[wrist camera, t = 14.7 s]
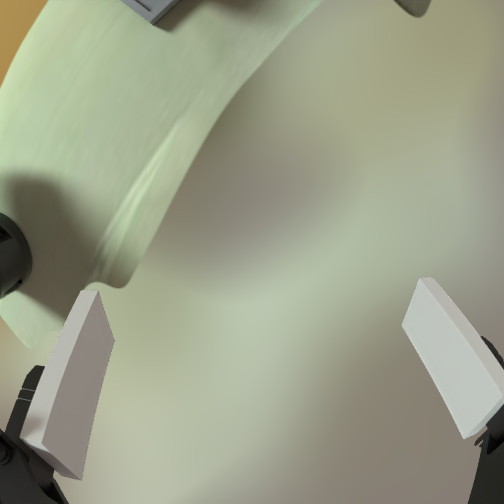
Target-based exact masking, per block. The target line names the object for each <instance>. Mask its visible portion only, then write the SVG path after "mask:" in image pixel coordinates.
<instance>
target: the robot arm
mask: <svg viewBox="0 0 504 504" xmlns="http://www.w3.org/2000/svg"><path fill="white" fill-rule="evenodd" d="M31 267H32V259H31V253H30V249H29V246H28V243H27V241H26V239H25V237H24V235H23V234H22V232H21V231H20V229H19V228H18V227H17V226H16V224H15V223H14V222H13V221H11V220H10V219H9V218H8V217H6V216H5V215H3V214H1V213H0V299H2V298H4V297H5V296H7V295H9V294H11V293H12V292H14V291H16V290H17V289H19V288H20V287H21V286H22V285H23V284H24V282H25V281H26V280H27V278H28V277H29V275H30V272H31ZM402 327H403V329H404V330H405V332H406V334H407V335H408V337H409V339H410V340H411V342H412V344H413V345H414V347H415V349H416V351H417V352H418V354H419V356H420V358H421V359H422V361H423V363H424V365H425V366H426V368H427V370H428V372H429V374H430V375H431V377H432V379H433V381H434V382H435V384H436V386H437V388H438V390H439V392H440V394H441V396H442V398H443V399H444V401H445V403H446V405H447V407H448V409H449V411H450V413H451V415H452V417H453V419H454V421H455V423H456V425H457V427H458V429H459V431H460V433H461V435H462V437H463V439H466V438H468V437H470V436H472V435H474V434H476V433H478V432H479V431H480V429H482V428H483V427H484V425H485V424H486V426H487V428H488V429H487V430H486V431H485V432H484V433H483V434H482V435H481V436H480V437H479V438H478V439H477V440H476V442H475V444H474V445H475V446H476V445H477V444H479V443H480V442H481V441H482V440H483V442H482V443H481V444H480V446H479V447H481V448H482V449H481V454H480V458H479V463H478V468H477V472H476V476H475V480H474V483H473V487H472V491H471V494H470V498H469V501H468V504H504V362H503V358H502V357H501V356H500V355H499V354H498V351H497V350H496V349H495V348H494V346H493V345H492V343H490V342H489V341H488V340H487V339H486V338H484V337H483V336H481V337H480V336H479V335H478V333H477V332H476V331H475V329H474V328H473V327H472V325H471V324H470V323H469V322H468V320H467V319H466V317H464V315H463V314H462V312H461V311H460V310H459V309H458V307H457V306H456V305H455V304H454V302H453V301H452V300H451V299H450V297H449V296H448V295H447V294H446V293H445V292H444V290H443V289H442V288H441V287H440V286H439V284H438V283H437V282H436V281H435V280H434V279H433V277H425V278H419V280H418V283H417V285H416V288H415V291H414V294H413V297H412V300H411V303H410V305H409V308H408V310H407V313H406V316H405V318H404V321H403V323H402ZM114 341H115V340H114V338H113V335H112V332H111V329H110V326H109V323H108V320H107V317H106V314H105V311H104V308H103V304H102V301H101V298H100V295H99V291H98V290H81V292H80V294H79V296H78V297H77V299H76V301H75V303H74V305H73V307H72V309H71V311H70V313H69V315H68V317H67V320H66V322H65V324H64V326H63V328H62V330H61V332H60V334H59V337H58V339H57V341H56V343H55V345H54V348H53V350H52V352H51V354H50V357H49V359H48V362H47V364H46V366H39V365H36V366H35V367H34V368H33V369H32V370H31V371H30V372H29V374H27V376H26V378H25V381H24V383H23V385H22V390H20V393H19V395H18V400H16V403H15V405H14V408H13V411H12V413H11V416H10V419H9V422H8V424H7V427H6V430H5V433H4V432H3V431H2V430H1V429H0V504H69V503H68V501H67V500H66V498H65V496H64V494H63V493H62V491H61V489H60V487H59V485H58V484H57V482H56V480H55V479H54V478H53V473H54V470H55V471H57V472H58V473H59V474H60V475H61V476H64V477H68V478H72V479H77V480H82V476H83V471H84V465H85V459H86V454H87V449H88V444H89V439H90V435H91V430H92V425H93V421H94V416H95V412H96V408H97V404H98V400H99V396H100V392H101V388H102V384H103V380H104V376H105V373H106V369H107V366H108V362H109V358H110V355H111V351H112V348H113V345H114Z"/></svg>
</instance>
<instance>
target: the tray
mask: <svg viewBox="0 0 504 504" xmlns="http://www.w3.org/2000/svg"><path fill="white" fill-rule="evenodd" d="M121 1H122V2H123V3H125V4H126V5H128V6H129V7H130V8H132V9H133V10H134V11H135V12H137V13H138V14H139V15H141V16H142V17H143V18H145V19H146V20H147V21H148V22H150V23H151V24H152V25H153V26H154V25H155V24H156V23H157V22H158V21H159V20H160V19H161V18H162V17H163V16H164V15H165V14H166V13H167V12H169V11H170V10H171V9H172V8H173V7H174V6H175V5H176V4H177V3H179V2H180V1H181V0H121Z"/></svg>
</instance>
